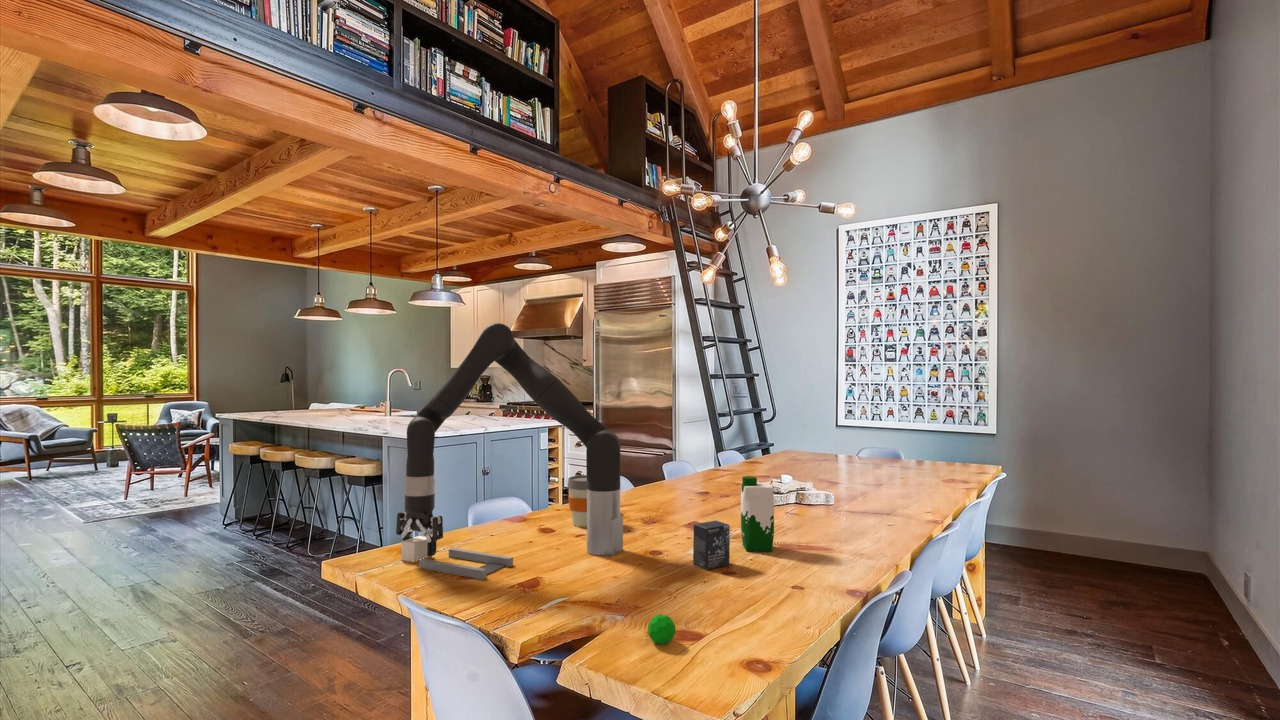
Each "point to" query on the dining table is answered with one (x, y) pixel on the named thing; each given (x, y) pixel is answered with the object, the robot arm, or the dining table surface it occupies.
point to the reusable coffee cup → (578, 499)
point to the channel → (479, 573)
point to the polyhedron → (661, 629)
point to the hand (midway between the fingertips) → (419, 553)
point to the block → (414, 549)
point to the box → (711, 545)
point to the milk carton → (757, 515)
